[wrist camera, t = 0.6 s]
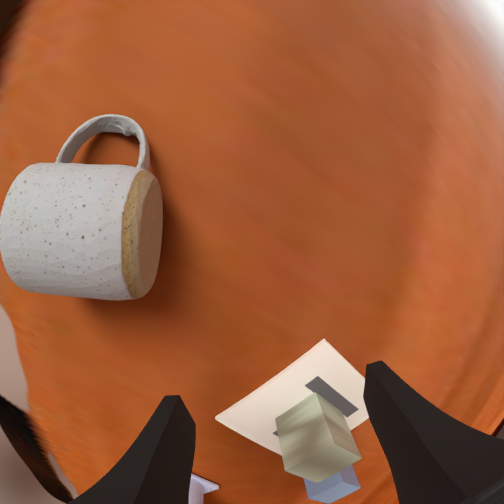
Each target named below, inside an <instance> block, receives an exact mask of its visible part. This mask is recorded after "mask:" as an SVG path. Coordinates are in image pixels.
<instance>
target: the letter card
mask: <svg viewBox="0 0 504 504" xmlns="http://www.w3.org/2000/svg"><path fill="white" fill-rule="evenodd" d="M364 384H365V378H364V377H363V376H362V375H361V374H360V373H359V372H358V371H357V370H356V369H355V368H354V367H353V366H352V365H351V364H350V363H349V362H348V361H347V360H346V359H345V358H344V357H343V356H342V355H341V354H340V353H339V352H338V351H337V350H336V349H335V348H334V347H333V346H332V345H331V344H330V343H328V342H327V341H326V340H325V339H322V340H321V341H320V342H319V343H318V344H316V345H315V346H314V347H313V348H311V349H310V350H309V351H308V352H306V353H305V354H304V355H302V356H301V357H300V358H299V359H297V360H296V361H295V362H293V363H292V364H291V365H289V366H288V367H287V368H285V369H284V370H283V371H281V372H280V373H279V374H277V375H276V376H275V377H273V378H272V379H270V380H269V381H268V382H266V383H265V384H263V385H262V386H260V387H259V388H258V389H256V390H255V391H253V392H252V393H250V394H249V395H247V396H246V397H244V398H243V399H241V400H240V401H238V402H237V403H235V404H234V405H232V406H231V407H229V408H228V409H226V410H225V411H223V412H221V413H220V414H218V415H217V416H215V420H217V421H219V422H220V423H222V424H224V425H225V426H227V427H229V428H230V429H232V430H234V431H236V432H237V433H239V434H241V435H243V436H245V437H246V438H248V439H250V440H252V441H254V442H256V443H258V444H260V445H261V446H263V447H265V448H267V449H269V450H271V451H273V452H275V453H277V454H280V455H282V453H281V448H280V442H279V437H278V432H277V426H276V421H275V418H277V417H278V416H280V415H282V414H283V413H285V412H286V411H288V410H289V409H291V408H292V407H294V406H295V405H297V404H298V403H300V402H301V401H303V400H304V399H306V398H307V397H309V396H310V395H311V394H313V393H314V392H316V393H317V394H319V395H320V396H321V397H323V398H324V399H325V400H327V401H328V402H329V403H331V404H332V405H333V406H335V407H336V408H337V409H339V410H340V411H341V412H342V413H343V416H344V418H345V420H346V423H347V425H348V427H349V429H350V431H351V430H352V429H354V428H355V427H356V426H358V425H359V424H361V423H362V422H364V421H365V420H367V419H368V418H369V416H368V413H367V409H366V406H365V403H364V399H363V393H364Z"/></svg>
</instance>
